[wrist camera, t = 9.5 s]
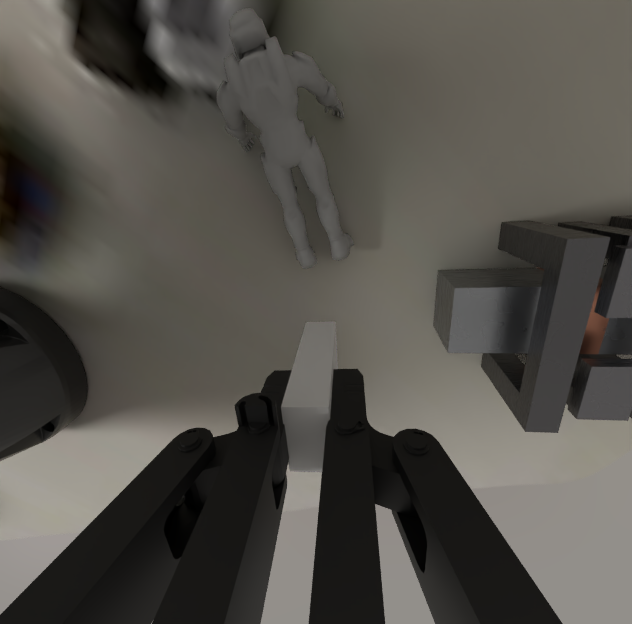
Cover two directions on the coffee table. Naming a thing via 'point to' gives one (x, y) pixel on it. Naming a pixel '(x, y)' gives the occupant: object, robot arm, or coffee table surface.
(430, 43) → the coffee table surface
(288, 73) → the soldier figurine
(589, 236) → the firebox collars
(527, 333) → the orange-banded grey block
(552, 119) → the coffee table surface
